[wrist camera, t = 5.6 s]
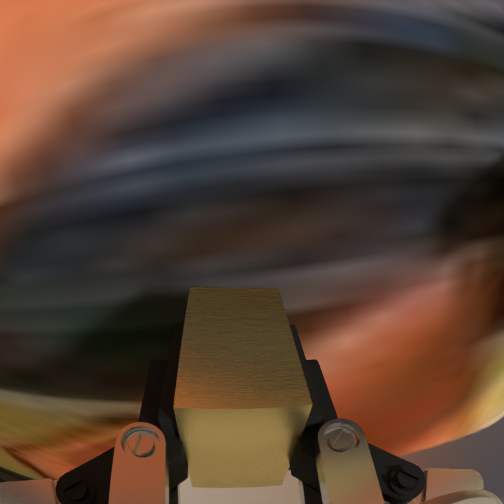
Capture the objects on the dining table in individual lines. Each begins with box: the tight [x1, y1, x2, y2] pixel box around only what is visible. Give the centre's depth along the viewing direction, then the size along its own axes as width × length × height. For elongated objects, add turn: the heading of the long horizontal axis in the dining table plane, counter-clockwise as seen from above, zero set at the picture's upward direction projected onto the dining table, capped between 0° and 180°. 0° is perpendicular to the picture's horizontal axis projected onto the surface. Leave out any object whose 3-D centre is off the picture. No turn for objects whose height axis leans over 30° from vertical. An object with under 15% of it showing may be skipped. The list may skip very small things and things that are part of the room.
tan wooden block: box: [173, 287, 313, 488], centre depth 9 cm, size 5×3×5 cm, turn 177°
